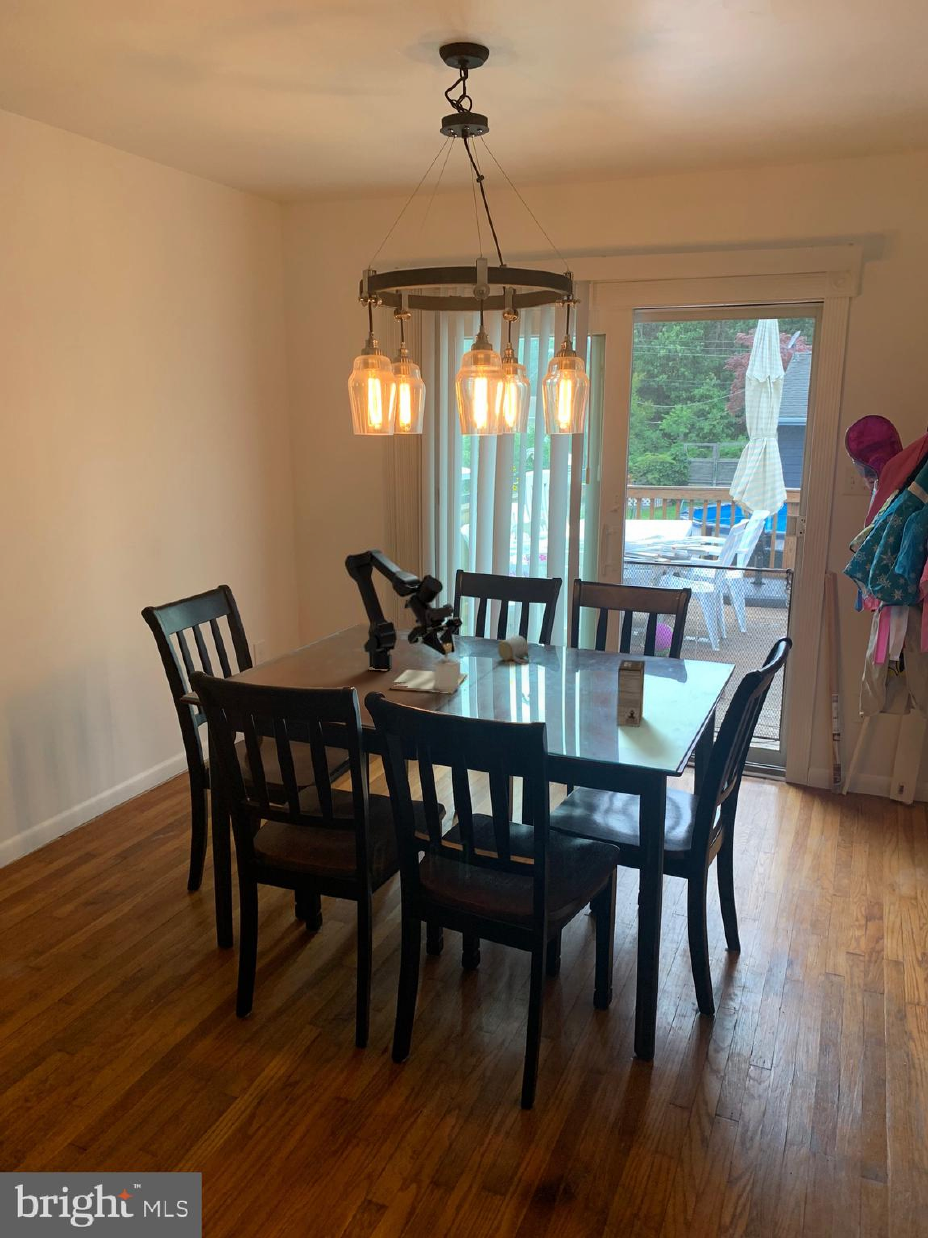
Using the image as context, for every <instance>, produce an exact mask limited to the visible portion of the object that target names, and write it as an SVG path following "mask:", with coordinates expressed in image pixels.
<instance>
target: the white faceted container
mask: <svg viewBox="0 0 928 1238" xmlns="http://www.w3.org/2000/svg"><path fill="white" fill-rule="evenodd" d="M433 663H434V664H433V666H434V672H435V683H434V684H433V685H434V688H436V689H439V690H453V689H456V690H458V689H459V687H460V686H459V683H458V679H459V678H460V673H461V662H460V661H459V660H458V659H455V658H451V657H448V662H444V657H443V658H442V657H441V658H438V659H434V661H433Z"/></svg>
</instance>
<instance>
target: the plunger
mask: <svg viewBox="0 0 928 1238" xmlns="http://www.w3.org/2000/svg"><path fill="white" fill-rule="evenodd" d="M440 643H441V644H442V646H443V648H444V650H445V652H446V654H445V655H443V656H444V657H443V658H444V662H448V658H449V655H448V654H451V653H452V643H450V642H440Z"/></svg>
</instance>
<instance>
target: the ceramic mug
mask: <svg viewBox="0 0 928 1238" xmlns="http://www.w3.org/2000/svg"><path fill="white" fill-rule="evenodd" d="M497 653H498V654H499V655H498V656H499V657H500V658H501V659H502V660H503V661H505V662H512V661H514V662H516V663H518V664H522V663H524V664H527V663H529V661H530V658H531V656H530V654H529V644H528V642H527V640H526V639H525V638H524V637H523V636H521V635H515V636H512V637H510V638H507V639H504V640H502V641H501V642H499V644H498V647H497ZM525 657H526V659H524V658H525Z"/></svg>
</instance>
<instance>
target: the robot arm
mask: <svg viewBox="0 0 928 1238" xmlns="http://www.w3.org/2000/svg"><path fill="white" fill-rule="evenodd" d="M344 566H345V570H346V571H347V573H348V575H349V577H350V578H352V579H353V580H354V581H355V582H356V585H357V587H358V590H359V594H360V597H361V600H362V603H363V606H364V609H365V612H366V615H367V619H368V621H369V628H368V632H367V633H368V639H367V641H366V642H365V643H364V645H363V649H364V652H365V653H368V654H369V655H368V657H369V659H368V660H369V661H368V662H369V667H373V668H375V669H389V668H390V669H391V668H393V655H392V654H391V650H395V645H396V643H397V639H398V638H397V631H396V629H395V626H394V623H393V622H392V621H390V622H389V621H388V620H387V619H386V618H385V615H384V613H383V610H382V606H381V603H380V601H379V598H378V594H377V591H376V589H375V585H374V582H373V579H372V576H373V570H374V569H376V570H377V571H378V572H379V573H380V574H381V575H383V576H384V577H385V578H386V579H387V580H388V581H389V582H390V583H391V585H392V589H393V591H395V594H397V595H398V596H399V597H400V598H404V597H410V598H408V599H405V603H404V609H405V610H407V609H410V610H411V611H412V613H413V615H414V616H415V618H416V619H415V620H414V622H415V623H416V624H420V625H418V626H415V627H413V628H412V629H411V631H410V632H409V634H408V635H407V641H408V642H409V644H410V645H414V644H418V642H419V638H420V637H421V639H422V640H421V641H420V645H421V644H422V645H425V646H427V647H429V648H431V649H433V650H434V651H435V652H437V653H439V654H441V655H443V656H444V655H445V654H446V652H445V650H444V648H443V646H442V644H441V643H442V642H450V643H452V652H451V653H452V654H453V653H455V651H456V650H455V645H454V640H453V634H455V633H456V632H457V630H459V628H460V627H461V626H462V625H463V621H462V619H461V618H460V617H459V616H458V617H457V616H456V617H452V616H453V614H454V612H455V610H454V607H453V606H452V604H451V603H446V604H443V605H442V607H438V608H437V607H432V605H431V604H430V603H433V602H434V601H435V600H436V598H437V597H438V596H439V594H441V592H442V591H443V589H444V585H443V583H442V581H441V580H439V579H438V578H436V577H432V575H431V574H426V575H424V576H423V578H422V580H421V579H419V577H418V576H416V575H414V574H413V573H410V572H407V571H403V570H402V569H401V568H399V567H398V566H397V565H396V564H394V562H392V561H391V560H390V559H389V558H388V557H387V556H386V555H384V554H383V552H382V551H381V550H380V549H372V550H371V549H370V550H366V551H365V552H360V553H354V554H349V555H347V556H346V559H345V561H344ZM448 617H452V618H448ZM446 618H448V620H447V621H446ZM444 622H445V623H444ZM438 634H439V635H440V636H439V638H438ZM390 669H389V670H390Z"/></svg>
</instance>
